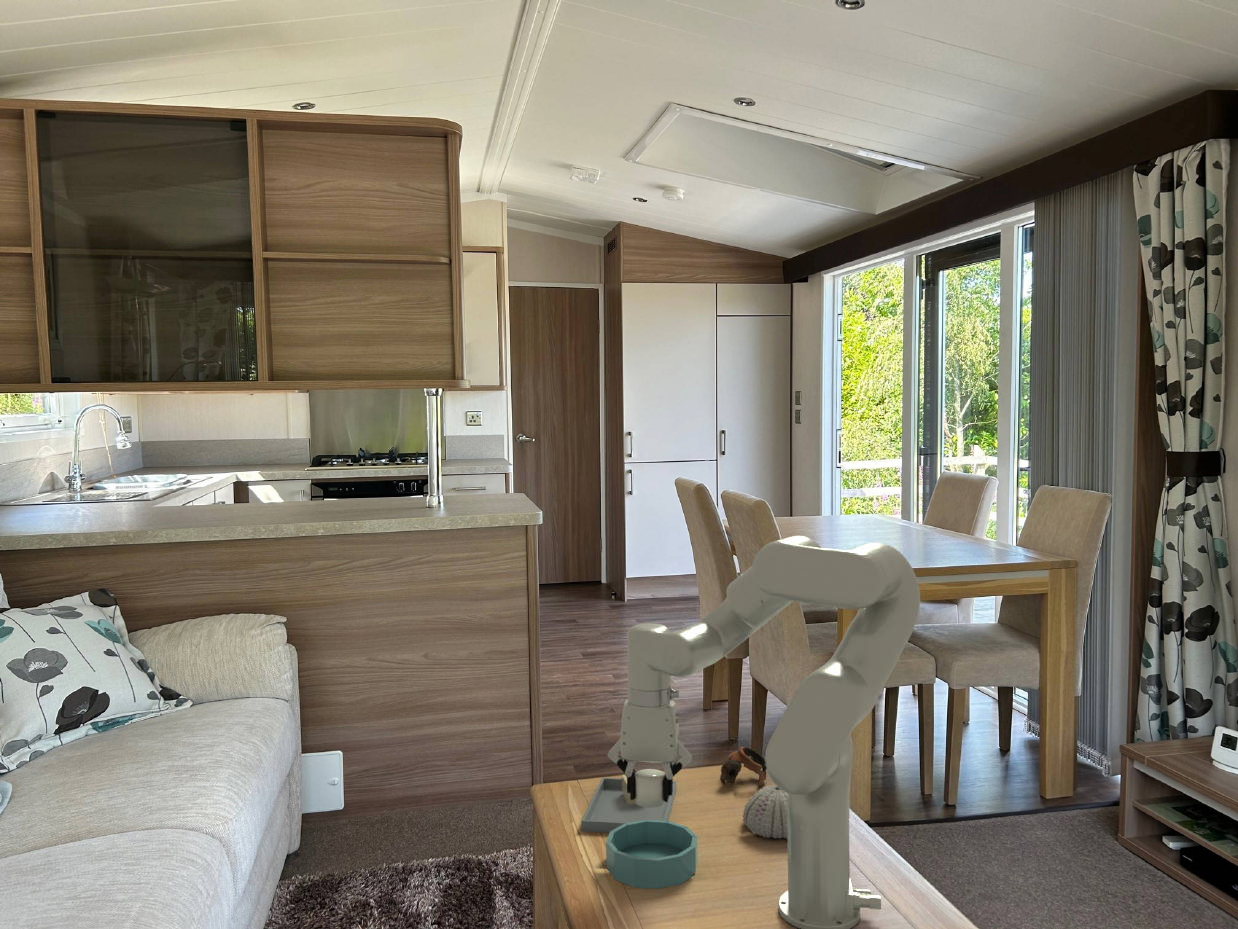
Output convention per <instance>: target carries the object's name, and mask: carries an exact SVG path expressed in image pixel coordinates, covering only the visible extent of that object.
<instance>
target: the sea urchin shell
mask: <svg viewBox="0 0 1238 929" xmlns="http://www.w3.org/2000/svg"><path fill="white" fill-rule="evenodd" d="M787 799H788V793H787V792H785V791H783V790H781V789H780V788H778V787H777V786H776V785H771V784H770V785H766V786H763V787H762V788H759V790H757V791H756V792H755V793H754V794H753V795H752V796H751V797H750V798H748V801H747V802H746V804H745V805H744V808H743V815H742V818H743V819H742V821H743V822H744V826H745V827H747V830H749V831H751V832H753V834H755V835H759V836H762V837H763V838H774V839H779V840H781V839H782V838H784V839H787V840H788V830H787Z"/></svg>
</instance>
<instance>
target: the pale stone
mask: <svg viewBox="0 0 1238 929" xmlns="http://www.w3.org/2000/svg"><path fill="white" fill-rule="evenodd" d="M664 777H665V772H664V771H662V770H660V769H654V768H646V769H645V768H644V769H640V770H638V771H636V773H635V803H636V804H637V805H639V806H641V807H646V808H654V807H659V806H662V805H663V804H664V803H665V802H664V801H663V779H664Z"/></svg>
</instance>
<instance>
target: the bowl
mask: <svg viewBox="0 0 1238 929" xmlns="http://www.w3.org/2000/svg"><path fill="white" fill-rule="evenodd" d="M605 848H606V849H605V850H606V852H605V856H606V858H605V859H606V862H605V863H606V867H607V868H606V870H607V872H609V874H610V875H611V876H612V878H613V879H614V880H615V881H616V882H619V883H622V884H624V885H628V886H630V887H633V888H638V889H639V888H640V889H641V888H642V889H656V890H661V889H665V888H670V887H673V886H680V885H683V884H684V883H685V882H687V881H688V880H690V879H692V877H695V876H696V875H695V874H696V873H695V872H696V871H697V866H698V861H699V860H698V858H699V856H698V853H699V852H698V835H697V834H696V833H695V832H693V830H691V829H690V828H689V827H688V826H685V825H683V824H679V823H677V822H674V821H670V820H669V821H662V820H641V821H636V822H630V823H625V824H623V825H621V826H619V827H617V828H616V829H614V830H612V831H610V833H609V834H608V836H607V838H606V841H605Z"/></svg>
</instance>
